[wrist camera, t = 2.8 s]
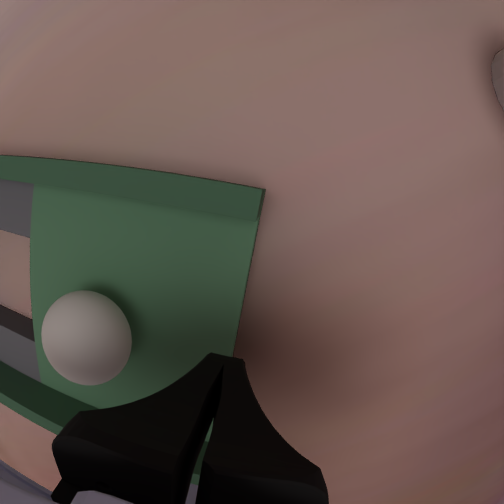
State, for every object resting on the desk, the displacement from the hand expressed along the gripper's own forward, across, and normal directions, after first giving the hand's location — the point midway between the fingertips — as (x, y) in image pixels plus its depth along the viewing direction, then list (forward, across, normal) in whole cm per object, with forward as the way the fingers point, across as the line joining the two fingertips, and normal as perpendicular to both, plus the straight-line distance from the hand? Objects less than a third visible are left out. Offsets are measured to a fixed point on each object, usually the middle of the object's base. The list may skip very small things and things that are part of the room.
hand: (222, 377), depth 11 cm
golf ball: (0, +6, 0) cm, 6 cm away
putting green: (+4, +10, -1) cm, 11 cm away
